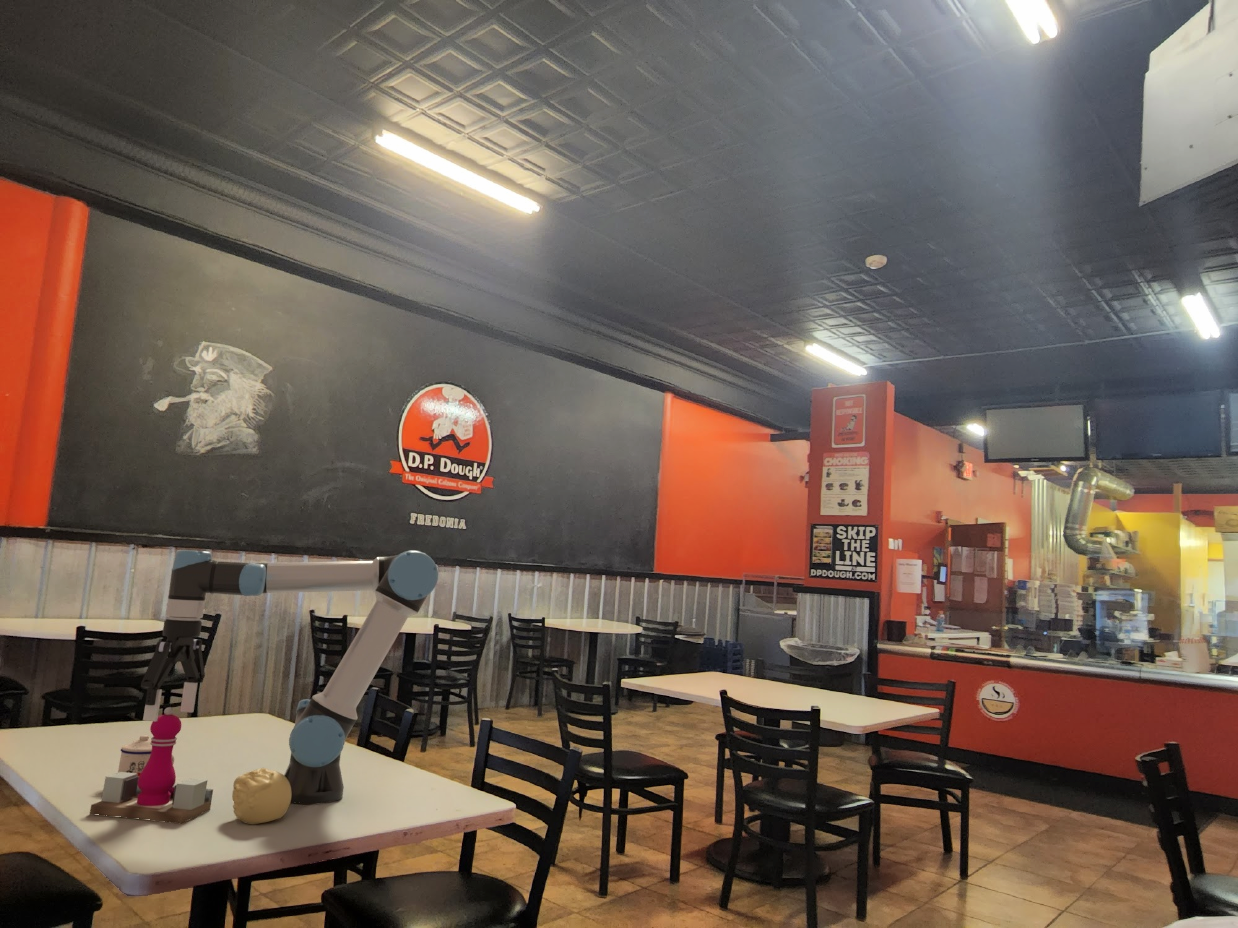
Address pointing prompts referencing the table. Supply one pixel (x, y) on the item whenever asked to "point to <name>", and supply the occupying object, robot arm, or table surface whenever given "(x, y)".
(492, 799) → the table surface
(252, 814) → the sculpture
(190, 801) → the block
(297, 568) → the robot arm
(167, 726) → the pepper mill
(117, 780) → the finger block
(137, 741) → the teacup with lid
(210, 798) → the steel rail bar
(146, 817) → the wooden frame tray
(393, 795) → the table surface
